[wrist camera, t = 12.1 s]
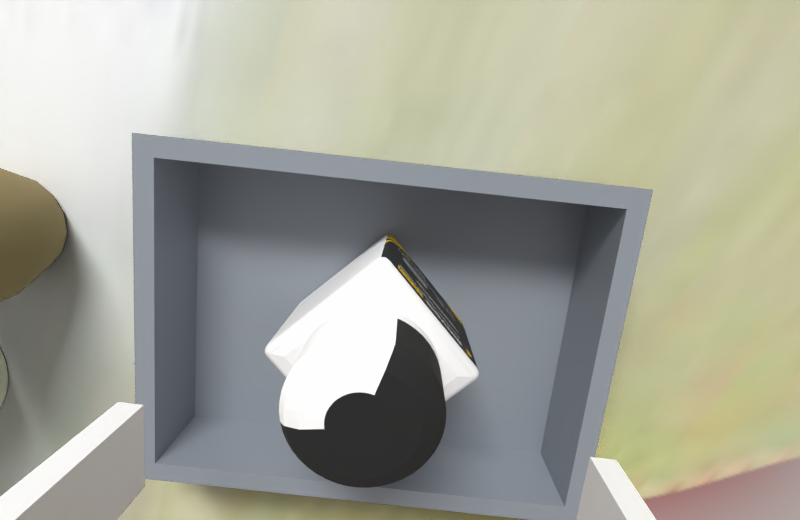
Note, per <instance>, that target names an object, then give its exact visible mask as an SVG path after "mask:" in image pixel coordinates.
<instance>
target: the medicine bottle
mask: <svg viewBox="0 0 800 520" xmlns="http://www.w3.org/2000/svg"><path fill="white" fill-rule="evenodd" d="M265 354H266V356H267V357H268V358H269V360H270V361H271V362H272V363H273V364H274V365H275V366H276V367H277V368H278V370H279V371H280V372H281V373H282V374H283V375H284V376H285V377H286V380H285V382H284V385H283V387H282V390H281V395H280V400H279V417H280V424H281V427H282V431H283V434H284V436H285V439H286V441H287V443H288V445H289V446H290V448H291V450H292V451H293V453H294V454H295V455H296V456H297V457H298V459H299V460H300V461H301V462H302V463H303V464H304V465H305V466H307V467H308V468H309V469H310V470H312V471H313V472H315V473H316V474H318V475H320V476H321V477H323V478H325V479H327V480H329V481H332V482H335V483H337V484H341V485H345V486H350V487H358V488H370V487H379V486H384V485H388V484H392V483H395V482H397V481H400V480H402V479H404V478H406V477H408V476H410V475H411V474H413V473H414V472H416V471H417V470H418V469H420V468H421V467H422V466H423V465H424V464H425V463H426V462H427V461H428V460H429V459H430V457H431V456H432V455H433V454H434V452H435V451H436V449H437V447H438V445H439V443H440V441H441V439H442V436H443V433H444V429H445V424H446V403H445V401H447V400H448V399H450V398H451V397H452V396H454V395H455V394H457V393H458V392H459V391H461V390H462V389H464V388H465V387H467V386H468V385H469V384H471V383H472V382H474V381H475V380H476V379H477V378H478V375H479V371H478V368H477V365H476V362H475V359H474V356H473V353H472V350H471V347H470V344H469V341H468V338H467V335H466V332H465V329H464V326H463V323H462V321H461V320H460V318H459V317H458V316H457V315H456V313H455V312H454V311H453V310H452V309H451V307H450V306H449V305H448V304H447V302H446V301H445V300H444V299H443V297H442V296H441V295H440V294H439V292H438V291H437V290H436V289H435V287H434V286H433V285H432V284H431V282H430V281H429V280H428V279H427V277H426V276H425V275H424V274H423V273H422V271H421V270H420V269H419V268H418V266H417V265H416V264H415V263H414V261H413V260H412V259H411V258H410V256H409V255H408V254H407V253H406V251H405V250H404V249H403V248H402V246H401V245H400V244H399V243H398V241H397V240H396V239H395V238H394V237H393V236H392V235H385V236H384V237H382V238H381V239H380V240H379V241H377V242H376V243H375V244H374V245H372V246H371V247H370V248H369V249H367V250H366V251H365V252H363V253H362V254H361V255H360V256H358V257H357V258H356V259H355V260H353V261H352V262H351V263H350V264H348V265H347V266H346V267H344V268H343V269H342V270H341V271H339V272H338V273H337V274H336V275H334V276H333V277H332V278H331V279H329V280H328V281H327V282H325V283H324V284H323V285H322V286H320V287H319V288H318V289H317V290H315V291H314V292H313V293H312V294H310V295H309V296H308V297H306V298H305V299H304V300H303V301H301V302H300V303H299V305H298V306H297V307H296V308H295V310H294V311H293V312H292V314H291V315H290V316H289V317H288V319H287V320H286V321H285V323H284V324H283V325H282V326H281V328H280V329H279V330H278V332H277V333H276V334H275V335H274V337H273V338H272V339H271V341H270V342H269V343H268V344H267V346H266V347H265Z"/></svg>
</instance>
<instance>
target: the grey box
mask: <svg viewBox="0 0 800 520" xmlns="http://www.w3.org/2000/svg"><path fill="white" fill-rule="evenodd" d="M132 178H133V256H134V334H135V404H140V405H144V472H145V479H152V480H161V481H170V482H180V483H189V484H199V485H208V486H217V487H227V488H236V489H246V490H255V491H264V492H274V493H283V494H293V495H302V496H311V497H321V498H330V499H340V500H349V501H358V502H368V503H377V504H387V505H396V506H405V507H415V508H424V509H433V510H443V511H452V512H462V513H471V514H480V515H490V516H499V517H509V518H518V519H527V520H576V518H577V514H578V509H579V504H580V500H581V495H582V491H583V486H584V481H585V477H586V472H587V468H588V463H589V458H590V457H595V454H596V449H597V445H598V440H599V435H600V431H601V426H602V422H603V417H604V412H605V408H606V403H607V399H608V394H609V390H610V385H611V380H612V376H613V371H614V367H615V362H616V357H617V353H618V348H619V344H620V339H621V335H622V330H623V325H624V321H625V316H626V312H627V307H628V302H629V298H630V293H631V289H632V284H633V279H634V275H635V270H636V266H637V261H638V257H639V252H640V247H641V243H642V238H643V234H644V229H645V224H646V220H647V215H648V211H649V206H650V202H651V197H652V192H653V190H650V189H641V188H632V187H623V186H614V185H605V184H596V183H587V182H578V181H569V180H559V179H550V178H541V177H532V176H523V175H514V174H505V173H495V172H486V171H477V170H468V169H459V168H450V167H440V166H431V165H422V164H413V163H404V162H395V161H385V160H376V159H367V158H358V157H349V156H340V155H331V154H321V153H312V152H303V151H294V150H285V149H276V148H266V147H257V146H248V145H239V144H230V143H221V142H211V141H202V140H193V139H184V138H175V137H165V136H156V135H147V134H137V133H132ZM385 235H392V236H393V237H394V238H395V239H396V240H397V241H398V243H399V244H400V245H401V246H402V248H403V249H404V250H405V251H406V253H407V254H408V255H409V256H410V258H411V259H412V260H413V261H414V263H415V264H416V265H417V266H418V268H419V269H420V270H421V271H422V273H423V274H424V275H425V276H426V277H427V279H428V280H429V281H430V282H431V284H432V285H433V286H434V287H435V289H436V290H437V291H438V292H439V294H440V295H441V296H442V297H443V299H444V300H445V301H446V302H447V304H448V305H449V306H450V307H451V309H452V310H453V311H454V312H455V313H456V315H457V316H458V317H459V318H460V320H461V321H462V323H463V326H464V329H465V332H466V335H467V338H468V341H469V344H470V347H471V350H472V353H473V356H474V359H475V362H476V365H477V368H478V371H479V375H478V378H477V379H476V380H475V381H474V382H472V383H471V384H469V385H468V386H467V387H465V388H464V389H462V390H461V391H459V392H458V393H457V394H455V395H454V396H452V397H451V398H450V399H448V400H447V401H445V403H446V424H445V429H444V433H443V436H442V439H441V441H440V443H439V445H438V447H437V449H436V451H435V452H434V454H433V455H432V456H431V457H430V459H429V460H428V461H427V462H426V463H425V464H424V465H423V466H422V467H421V468H420V469H418V470H417V471H416V472H414V473H413V474H411V475H410V476H408V477H406V478H404V479H402V480H400V481H397V482H395V483H392V484H388V485H384V486H379V487H370V488H358V487H350V486H345V485H341V484H337V483H335V482H332V481H329V480H327V479H325V478H323V477H321V476H320V475H318V474H316V473H315V472H313V471H312V470H310V469H309V468H308V467H307V466H305V465H304V464H303V463H302V462H301V461H300V460H299V459H298V457H297V456H296V455H295V454H294V453H293V451H292V450H291V448H290V446H289V445H288V443H287V441H286V439H285V436H284V434H283V431H282V427H281V424H280V417H279V400H280V395H281V390H282V387H283V385H284V382H285V380H286V377H285V376H284V375H283V374H282V373H281V372H280V371H279V370H278V368H277V367H276V366H275V365H274V364H273V363H272V362H271V361H270V360H269V358H268V357H267V356H266V354H265V347H266V346H267V344H268V343H269V342H270V341H271V339H272V338H273V337H274V335H275V334H276V333H277V332H278V330H279V329H280V328H281V326H282V325H283V324H284V323H285V321H286V320H287V319H288V317H289V316H290V315H291V314H292V312H293V311H294V310H295V308H296V307H297V306H298V305H299V303H300V302H301V301H303V300H304V299H305V298H306V297H308V296H309V295H310V294H312V293H313V292H314V291H315V290H317V289H318V288H319V287H320V286H322V285H323V284H324V283H325V282H327V281H328V280H329V279H331V278H332V277H333V276H334V275H336V274H337V273H338V272H339V271H341V270H342V269H343V268H344V267H346V266H347V265H348V264H350V263H351V262H352V261H353V260H355V259H356V258H357V257H358V256H360V255H361V254H362V253H363V252H365V251H366V250H367V249H369V248H370V247H371V246H372V245H374V244H375V243H376V242H377V241H379V240H380V239H381V238H382V237H384V236H385Z"/></svg>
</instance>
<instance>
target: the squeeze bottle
mask: <svg viewBox="0 0 800 520" xmlns="http://www.w3.org/2000/svg"><path fill="white" fill-rule="evenodd" d="M66 235H67V230H66V224H65V218H64V213H63V211H62V210H61V208H60V206H59V205H58V203H57V201H56V199H55V198H54V196H53V195H52V194H51V193H50V192H49V191H47V190H46V189H45V188H44V187H43V186H42V185H40V184H39V183H38V182H37V181H34V180H31V179H29V178H26V177H23V176H20V175H18V174H15V173H12V172H9V171H7V170H4V169H1V168H0V302H1V301H3V300H5V299H8V298H10V297H12V296H14V295H16V294H18V293H19V292H20V291H22V290H23V289H24V288H25V287H26V286H27V285H28V284H30V283H31V282H32V281H33V280H34V279H35V278H36V277H37V276H39V275H40V274H41V273H42V272H43V271H44V270H45V269H47V268H48V267H49V266H50V265H51V264H52V263H53V262H54V261H55V259H56V258H57V257H58V256H59V254H60V253H61V252H62V251H63V247H64V243H65V239H66Z"/></svg>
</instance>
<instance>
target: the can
mask: <svg viewBox="0 0 800 520" xmlns="http://www.w3.org/2000/svg"><path fill="white" fill-rule="evenodd" d="M7 387H8V371H7V366H6V362H5V359H4V356H3V353H2V351H1V349H0V407H1V405H2V403H3V401H4V399H5V396H6V393H7Z"/></svg>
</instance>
